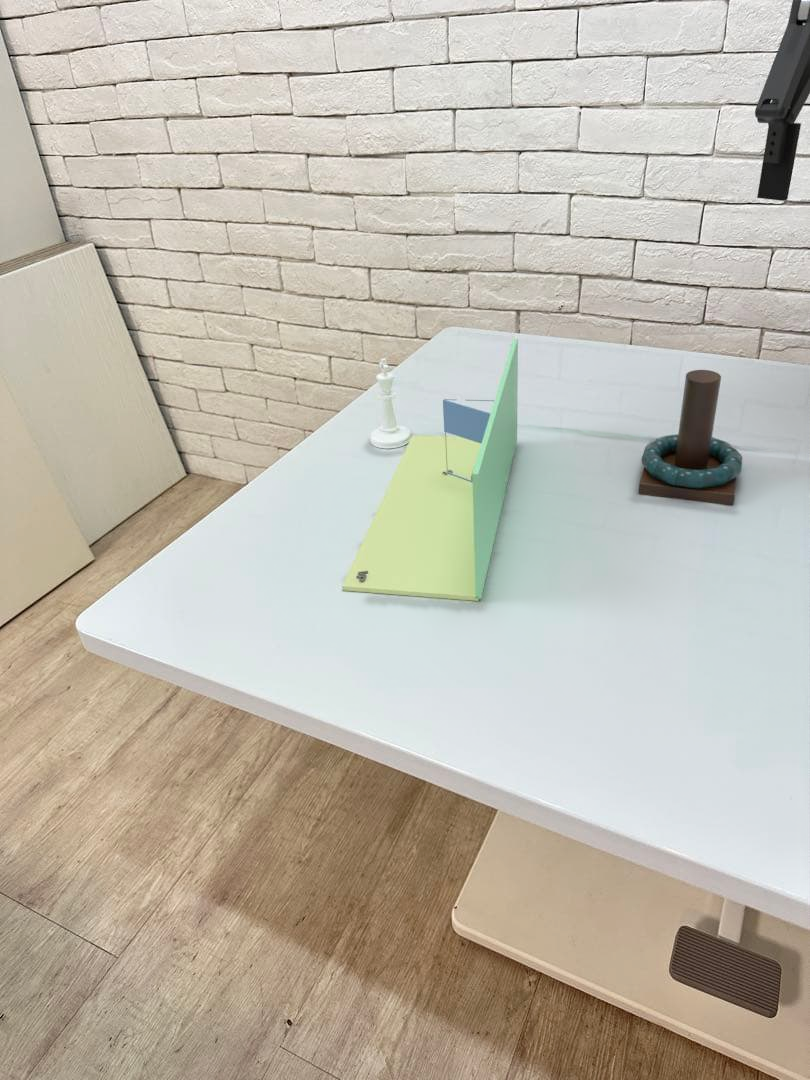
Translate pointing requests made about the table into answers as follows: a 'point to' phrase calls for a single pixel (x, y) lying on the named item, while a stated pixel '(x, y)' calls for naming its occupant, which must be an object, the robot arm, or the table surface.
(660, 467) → the ring
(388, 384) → the chess piece
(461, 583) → the display stand
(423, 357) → the table surface
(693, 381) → the stand
